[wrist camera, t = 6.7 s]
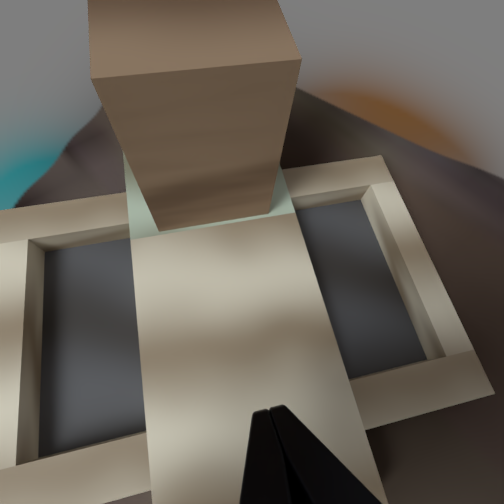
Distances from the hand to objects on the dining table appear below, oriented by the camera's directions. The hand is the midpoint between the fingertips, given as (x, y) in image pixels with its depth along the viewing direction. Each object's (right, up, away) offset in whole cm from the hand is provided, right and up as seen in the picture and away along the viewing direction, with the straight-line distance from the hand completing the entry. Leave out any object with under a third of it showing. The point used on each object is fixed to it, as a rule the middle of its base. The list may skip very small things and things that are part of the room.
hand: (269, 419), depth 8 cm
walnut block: (-3, +9, +10) cm, 14 cm away
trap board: (-2, +3, +10) cm, 11 cm away
